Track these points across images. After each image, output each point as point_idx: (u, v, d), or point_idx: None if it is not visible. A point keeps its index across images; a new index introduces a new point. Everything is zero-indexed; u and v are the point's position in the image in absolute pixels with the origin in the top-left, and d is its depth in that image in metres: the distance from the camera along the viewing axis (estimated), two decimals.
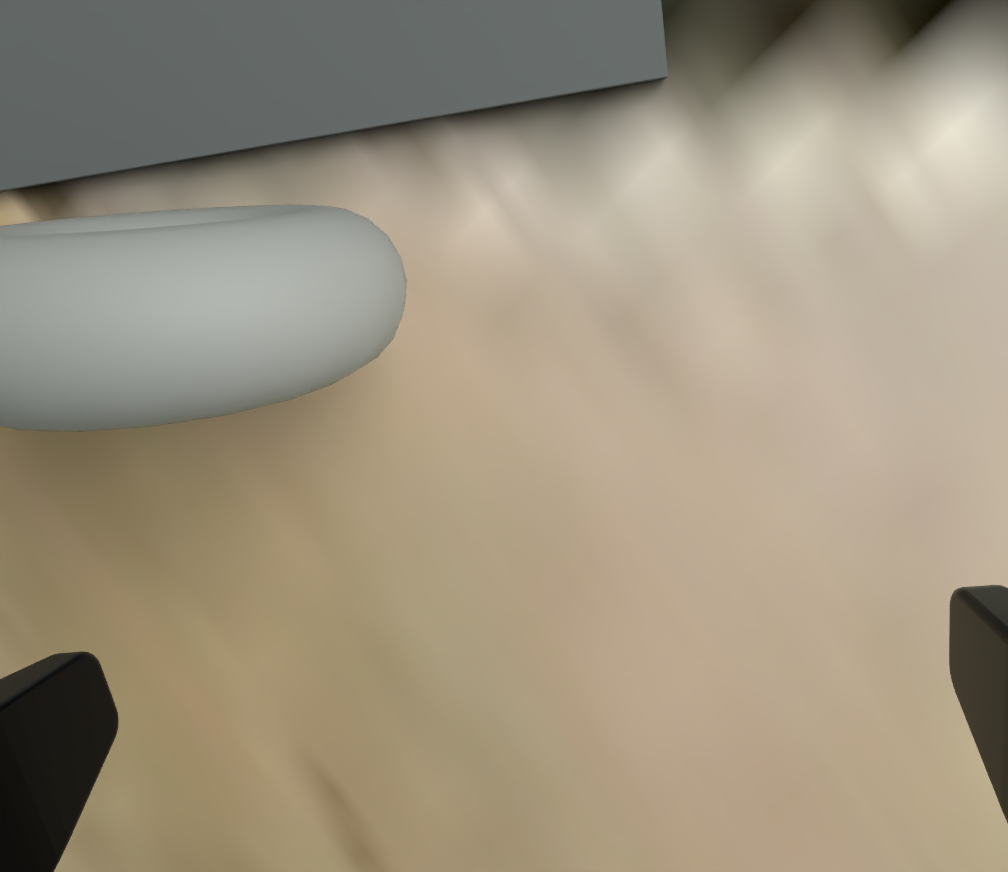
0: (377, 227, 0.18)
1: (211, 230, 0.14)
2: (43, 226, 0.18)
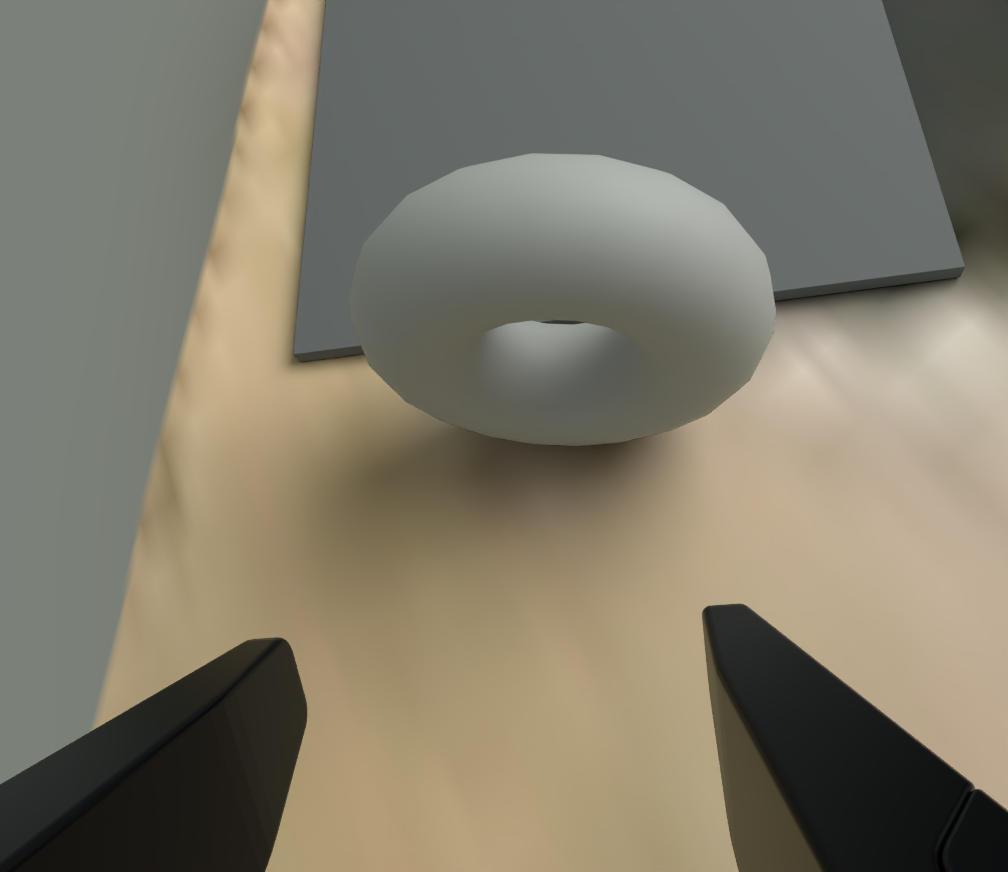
0: None
1: None
2: None
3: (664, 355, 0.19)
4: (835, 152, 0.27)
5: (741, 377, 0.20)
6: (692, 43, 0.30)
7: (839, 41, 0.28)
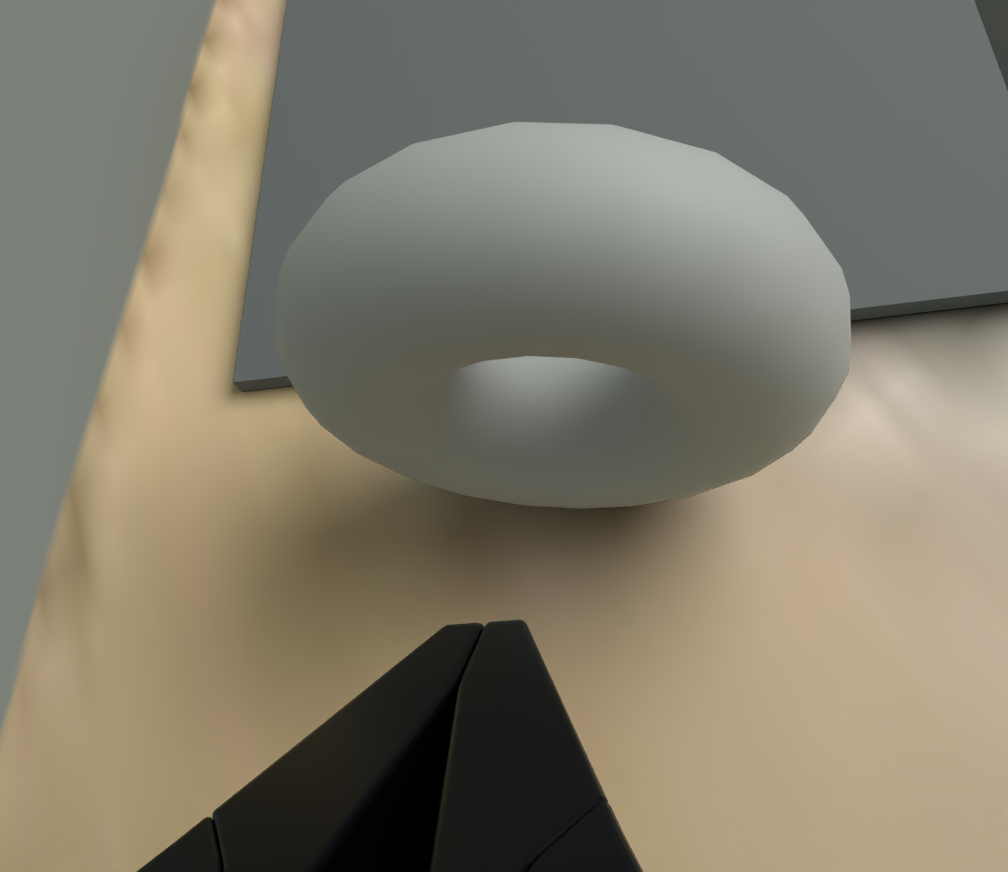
0: None
1: None
2: None
3: (700, 405, 0.14)
4: (904, 137, 0.21)
5: (802, 433, 0.15)
6: (725, 8, 0.25)
7: (906, 4, 0.23)
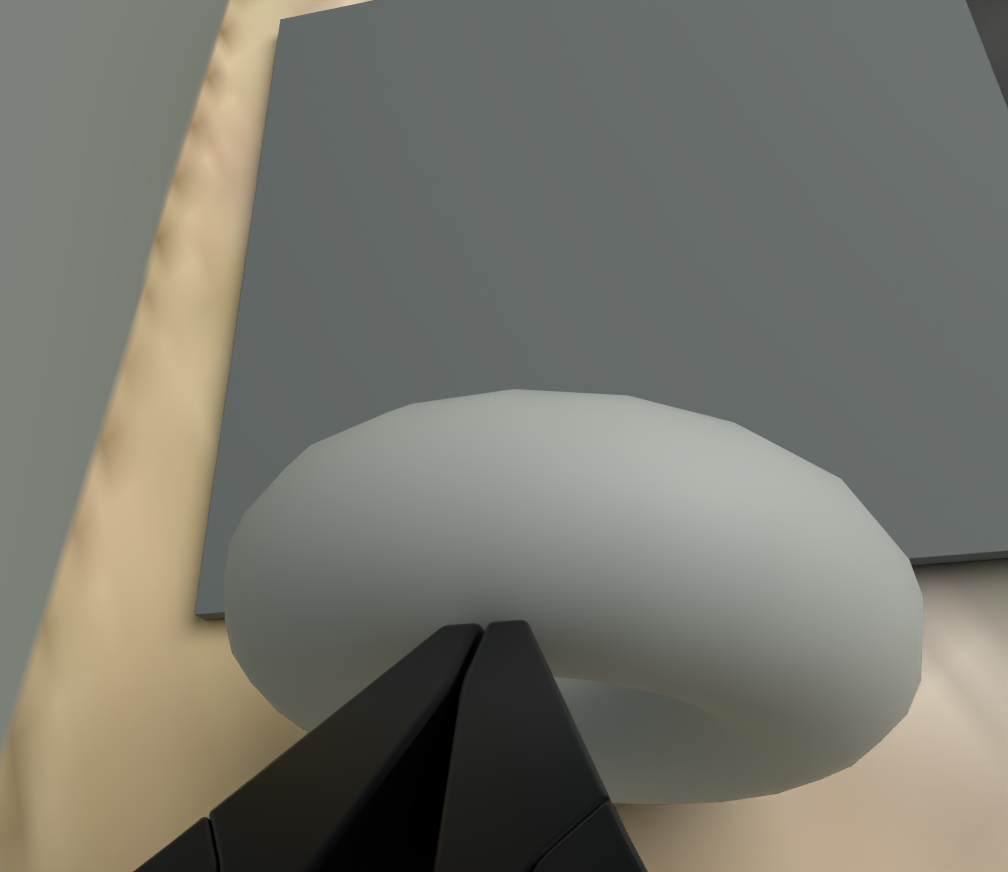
0: None
1: None
2: None
3: (738, 726, 0.11)
4: (960, 340, 0.19)
5: (866, 752, 0.12)
6: (748, 169, 0.22)
7: (954, 173, 0.21)
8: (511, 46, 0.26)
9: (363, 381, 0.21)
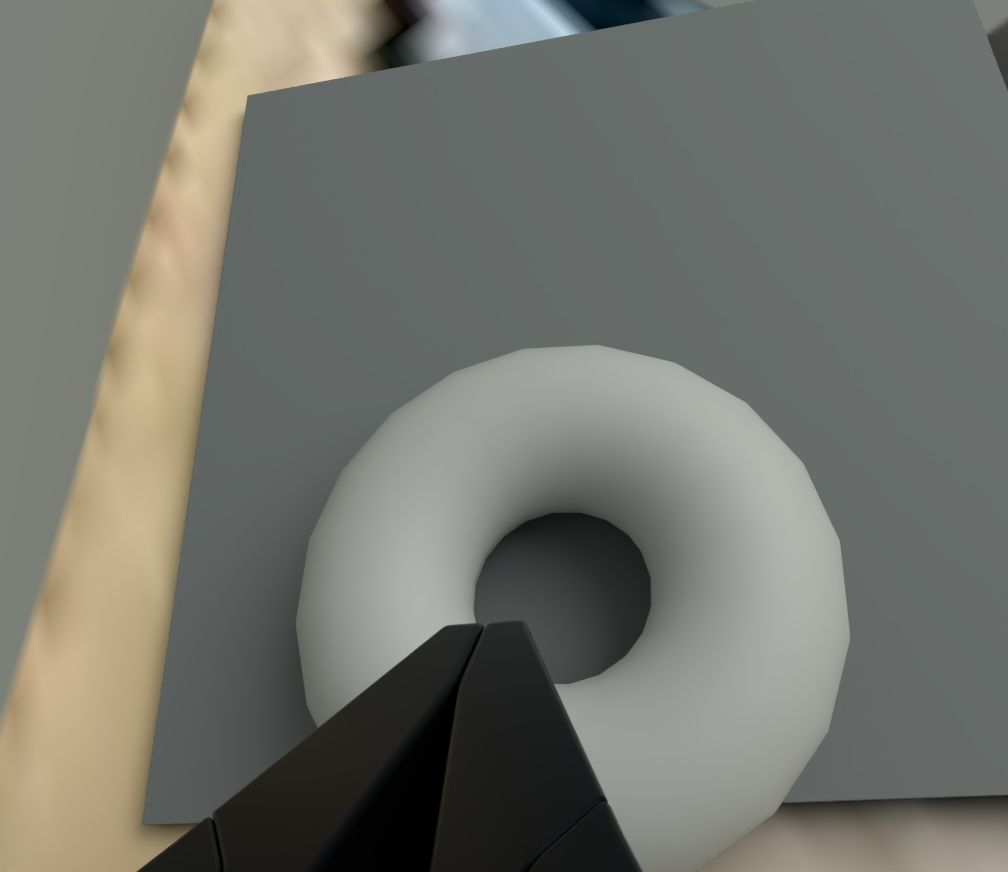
0: None
1: None
2: None
3: (686, 493, 0.15)
4: None
5: (810, 564, 0.14)
6: (768, 296, 0.19)
7: (1003, 310, 0.18)
8: (502, 137, 0.23)
9: None
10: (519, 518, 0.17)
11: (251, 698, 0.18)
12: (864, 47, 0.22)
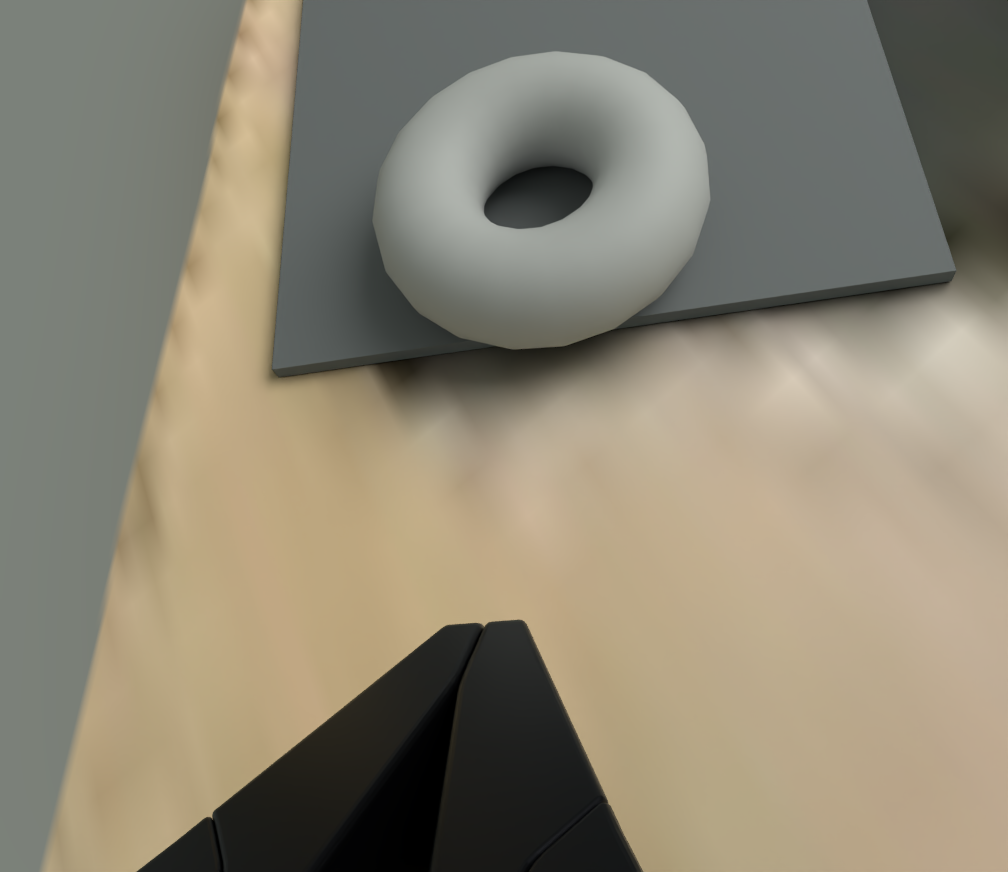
0: None
1: None
2: None
3: (611, 114, 0.24)
4: (821, 155, 0.26)
5: (682, 143, 0.23)
6: (675, 46, 0.29)
7: (824, 42, 0.28)
8: None
9: None
10: (511, 161, 0.26)
11: (338, 297, 0.27)
12: None
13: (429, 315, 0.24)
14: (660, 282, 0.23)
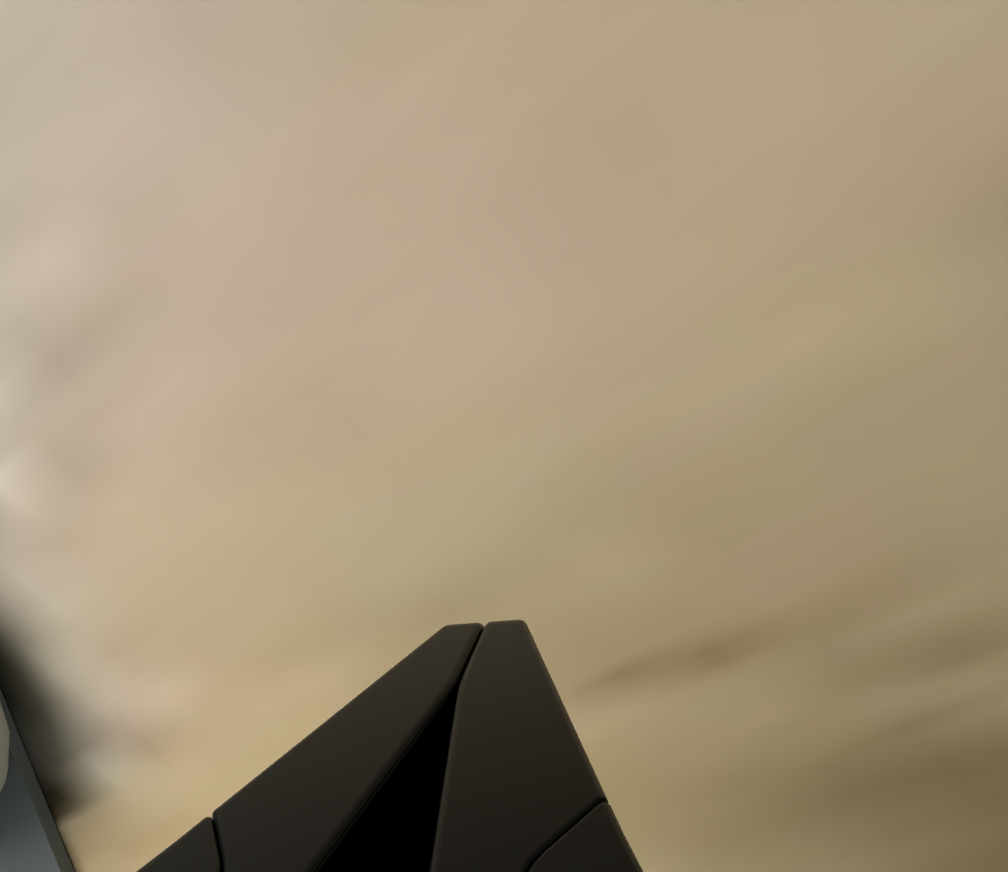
0: None
1: None
2: None
3: None
4: None
5: None
6: None
7: None
8: None
9: None
10: None
11: None
12: None
13: None
14: None
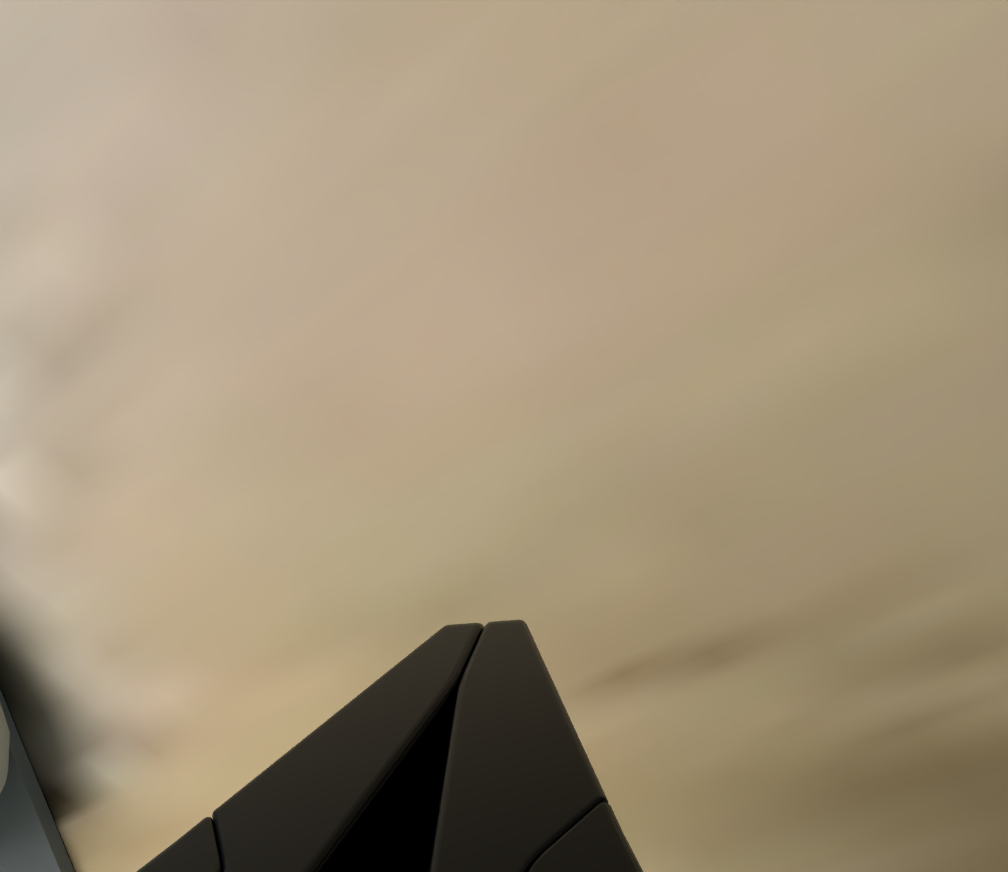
0: None
1: None
2: None
3: None
4: None
5: None
6: None
7: None
8: None
9: None
10: None
11: None
12: None
13: None
14: None
